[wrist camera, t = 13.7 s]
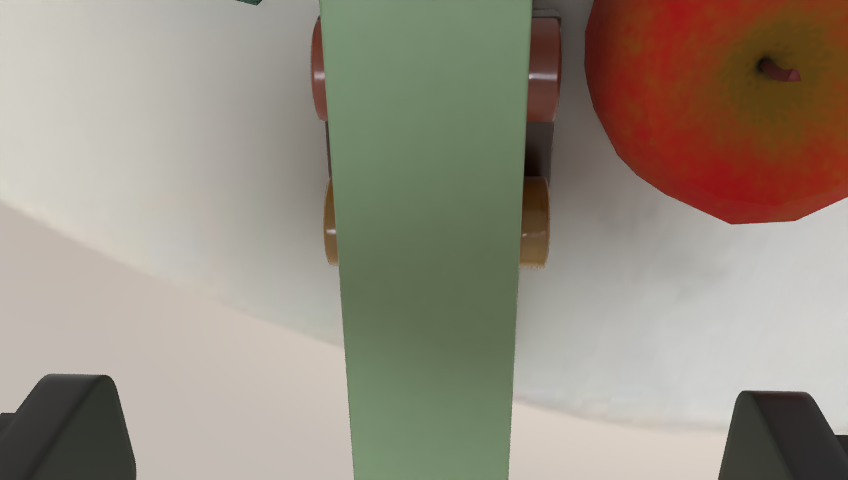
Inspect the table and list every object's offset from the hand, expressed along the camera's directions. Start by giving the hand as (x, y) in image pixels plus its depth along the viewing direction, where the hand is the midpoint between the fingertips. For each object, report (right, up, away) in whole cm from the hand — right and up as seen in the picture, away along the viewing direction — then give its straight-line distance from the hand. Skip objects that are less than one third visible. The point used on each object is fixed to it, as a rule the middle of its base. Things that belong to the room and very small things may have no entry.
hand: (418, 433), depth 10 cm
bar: (0, +4, +8) cm, 9 cm away
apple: (+7, +9, +10) cm, 15 cm away
